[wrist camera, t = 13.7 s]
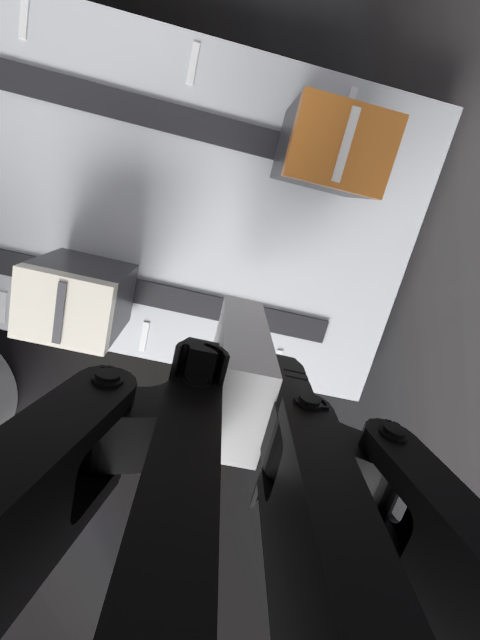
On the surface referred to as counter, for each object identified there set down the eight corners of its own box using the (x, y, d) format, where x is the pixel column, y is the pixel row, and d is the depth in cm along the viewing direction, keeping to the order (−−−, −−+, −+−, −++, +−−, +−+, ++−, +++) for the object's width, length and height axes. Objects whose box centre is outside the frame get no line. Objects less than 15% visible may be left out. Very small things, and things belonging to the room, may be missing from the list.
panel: (-65, -25, 18) (-110, -58, 16) (437, 116, 21) (465, 106, 18) (-71, 296, 23) (-107, 309, 20) (346, 382, 25) (359, 403, 23)
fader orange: (285, 110, 18) (306, 85, 13) (364, 132, 18) (411, 114, 14) (269, 178, 19) (283, 174, 14) (345, 197, 19) (382, 200, 15)
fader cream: (61, 247, 19) (11, 266, 15) (138, 264, 20) (113, 288, 15) (55, 304, 20) (6, 338, 16) (129, 319, 21) (102, 357, 16)
